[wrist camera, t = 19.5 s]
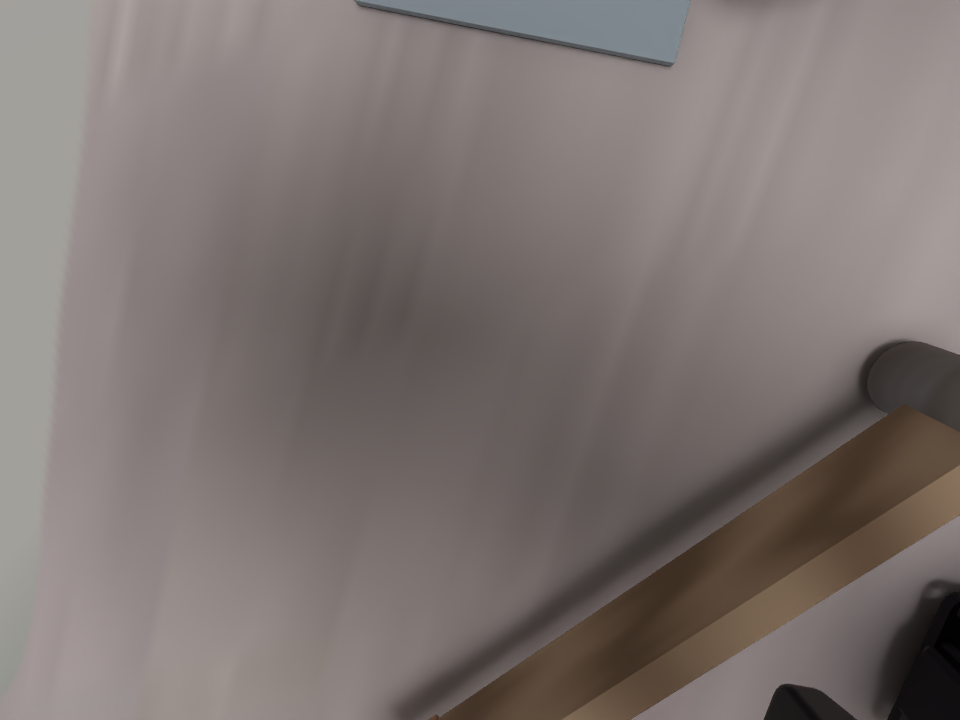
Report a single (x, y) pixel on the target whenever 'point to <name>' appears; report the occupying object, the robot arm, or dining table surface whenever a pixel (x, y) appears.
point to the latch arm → (758, 560)
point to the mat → (566, 22)
